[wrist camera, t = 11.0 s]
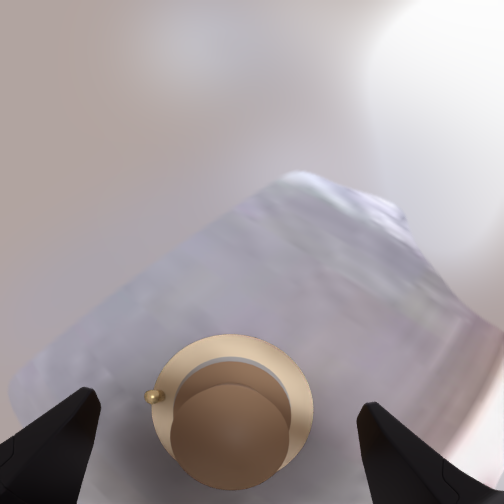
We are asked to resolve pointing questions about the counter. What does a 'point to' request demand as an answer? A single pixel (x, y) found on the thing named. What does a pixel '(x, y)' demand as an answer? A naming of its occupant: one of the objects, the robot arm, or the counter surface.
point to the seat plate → (237, 351)
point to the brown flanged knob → (231, 426)
